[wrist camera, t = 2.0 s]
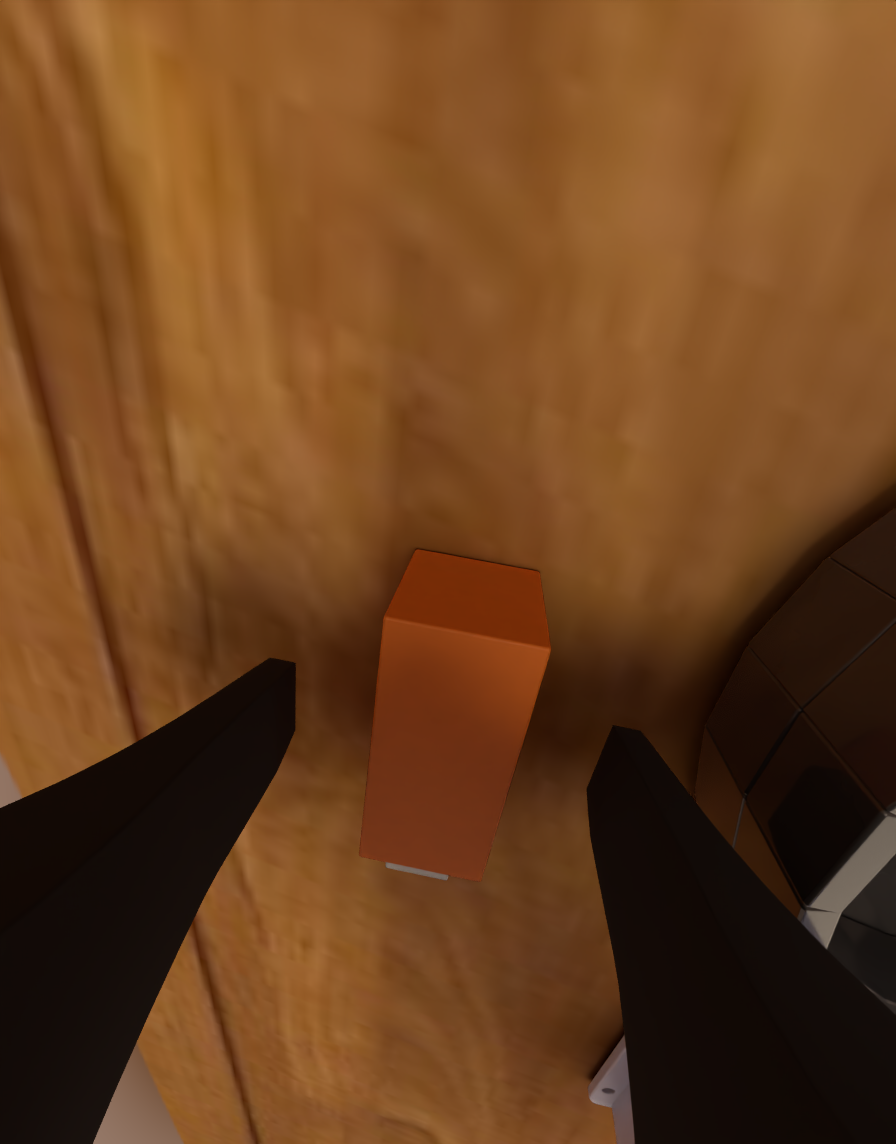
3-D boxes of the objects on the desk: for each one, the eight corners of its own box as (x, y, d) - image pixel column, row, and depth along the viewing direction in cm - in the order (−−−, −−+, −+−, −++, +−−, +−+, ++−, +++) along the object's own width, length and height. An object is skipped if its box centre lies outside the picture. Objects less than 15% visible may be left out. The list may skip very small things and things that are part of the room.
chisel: (415, 548, 10) (382, 616, 8) (540, 570, 10) (552, 649, 7) (376, 850, 15) (347, 958, 12) (461, 868, 15) (451, 982, 12)
